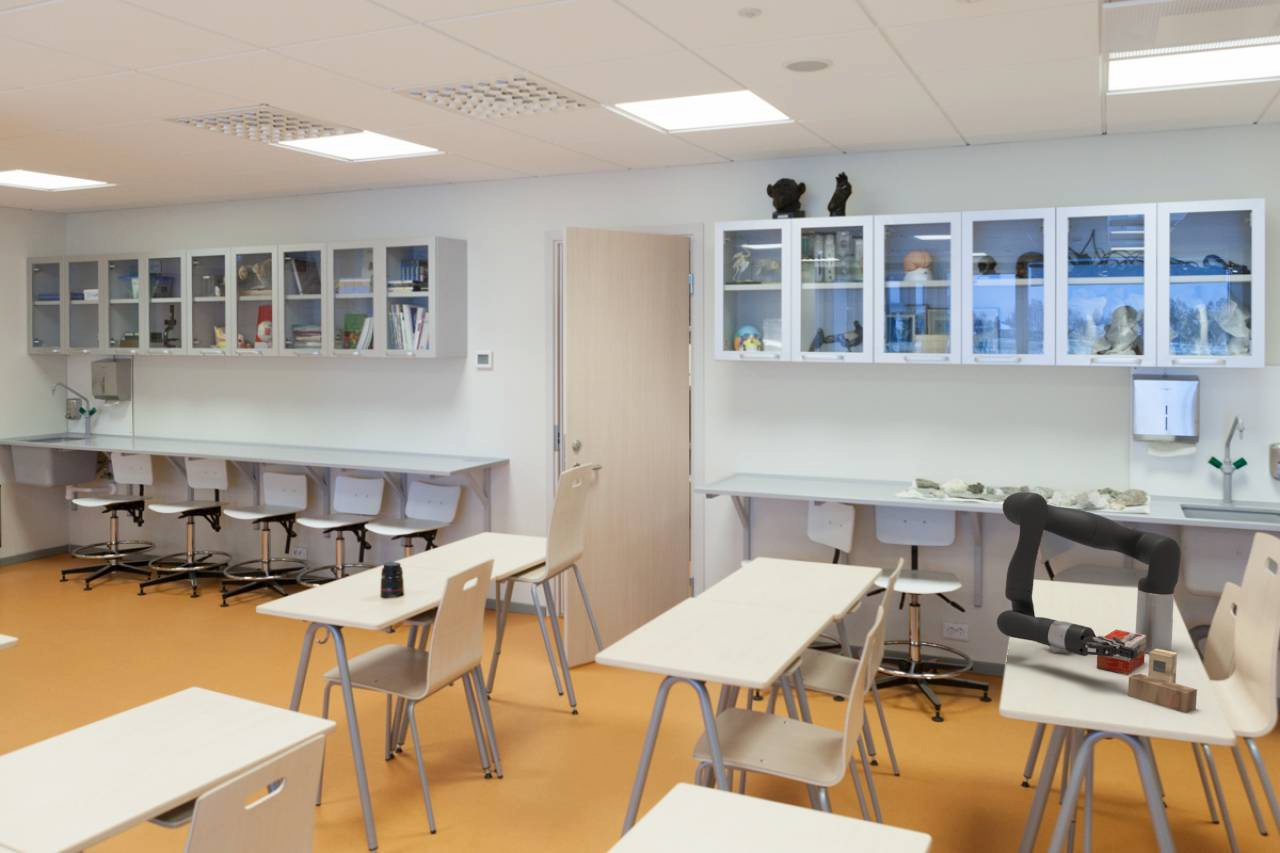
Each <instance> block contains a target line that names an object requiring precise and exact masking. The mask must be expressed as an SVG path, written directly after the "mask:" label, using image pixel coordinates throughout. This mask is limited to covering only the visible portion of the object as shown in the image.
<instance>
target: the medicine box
mask: <svg viewBox="0 0 1280 853" xmlns="http://www.w3.org/2000/svg"><path fill="white" fill-rule="evenodd" d="M1103 636H1104V637H1106V638H1107V639H1111V640H1112V637H1116V638H1118V639H1119V640H1121V641H1122V642H1124V643H1125V647H1129V648H1133V649H1136V650H1137V651H1138V654H1137V658H1135V659H1131V658H1127V657H1123V656H1114V655H1113V657H1110V656H1099V655H1096V656H1097V657H1096V669H1098V670H1104V671H1108V672H1110V671H1111V672H1115V673H1118V674H1122V675H1126V676H1127V675H1128V676H1129V675H1130V674H1131V673H1133V672H1134V671H1135V670H1137V669H1138V668H1140V667H1141V666H1142V665H1144V664H1145V658H1146V657H1145V656H1146V655H1145V654H1146V653H1145V645H1146V635H1141V634H1136V633H1135V632H1130V631H1126V630H1121V629H1115V630H1113V631H1111V632H1109V633H1108V634H1105V635H1103Z"/></svg>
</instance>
